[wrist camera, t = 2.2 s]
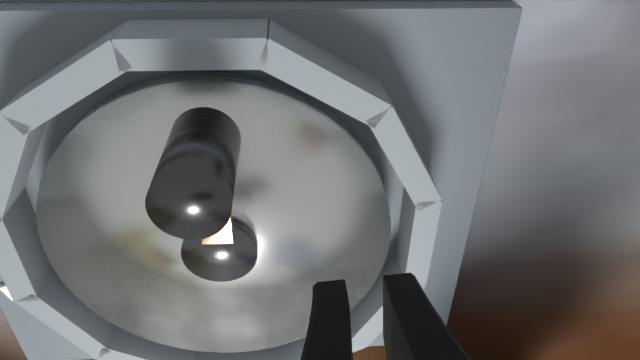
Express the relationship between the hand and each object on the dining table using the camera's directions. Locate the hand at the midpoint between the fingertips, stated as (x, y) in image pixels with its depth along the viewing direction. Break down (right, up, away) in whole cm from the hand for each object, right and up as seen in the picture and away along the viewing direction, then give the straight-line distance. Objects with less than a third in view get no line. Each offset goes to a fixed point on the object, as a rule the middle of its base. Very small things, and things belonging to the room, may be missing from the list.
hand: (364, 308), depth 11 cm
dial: (-5, +1, +10) cm, 11 cm away
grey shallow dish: (-5, +2, +11) cm, 12 cm away
